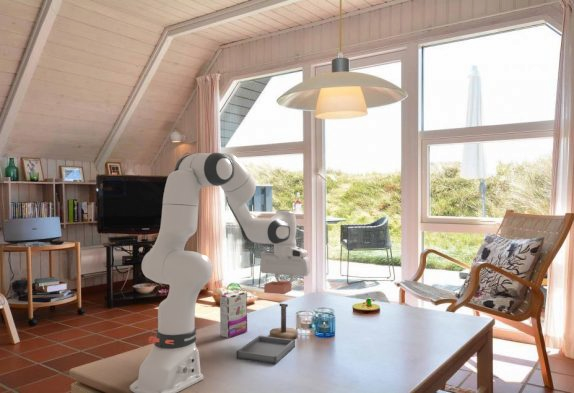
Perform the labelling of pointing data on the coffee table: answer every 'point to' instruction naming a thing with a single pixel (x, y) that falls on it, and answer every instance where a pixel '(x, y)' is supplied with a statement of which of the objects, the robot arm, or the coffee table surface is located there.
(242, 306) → the candy bar box
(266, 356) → the tray
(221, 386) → the coffee table surface
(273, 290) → the orange hollow block
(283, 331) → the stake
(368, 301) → the toy character
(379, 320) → the coffee table surface
